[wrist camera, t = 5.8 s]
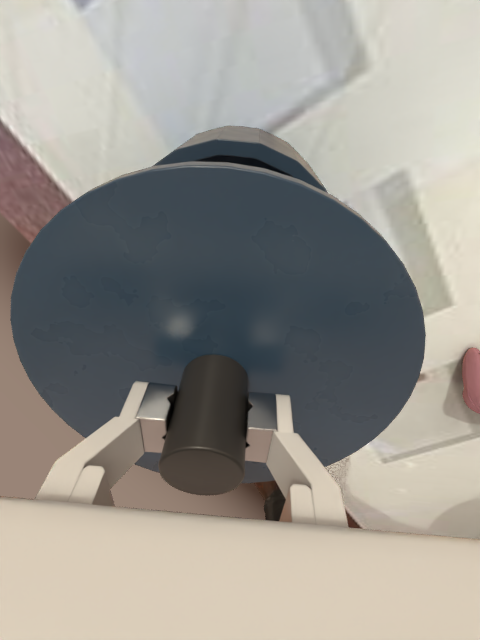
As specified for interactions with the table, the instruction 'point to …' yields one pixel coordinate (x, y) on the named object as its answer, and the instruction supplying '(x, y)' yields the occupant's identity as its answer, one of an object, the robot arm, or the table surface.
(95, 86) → the table surface
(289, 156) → the round dark pot
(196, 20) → the table surface
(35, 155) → the table surface
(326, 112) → the table surface
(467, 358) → the video game controller
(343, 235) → the lid
